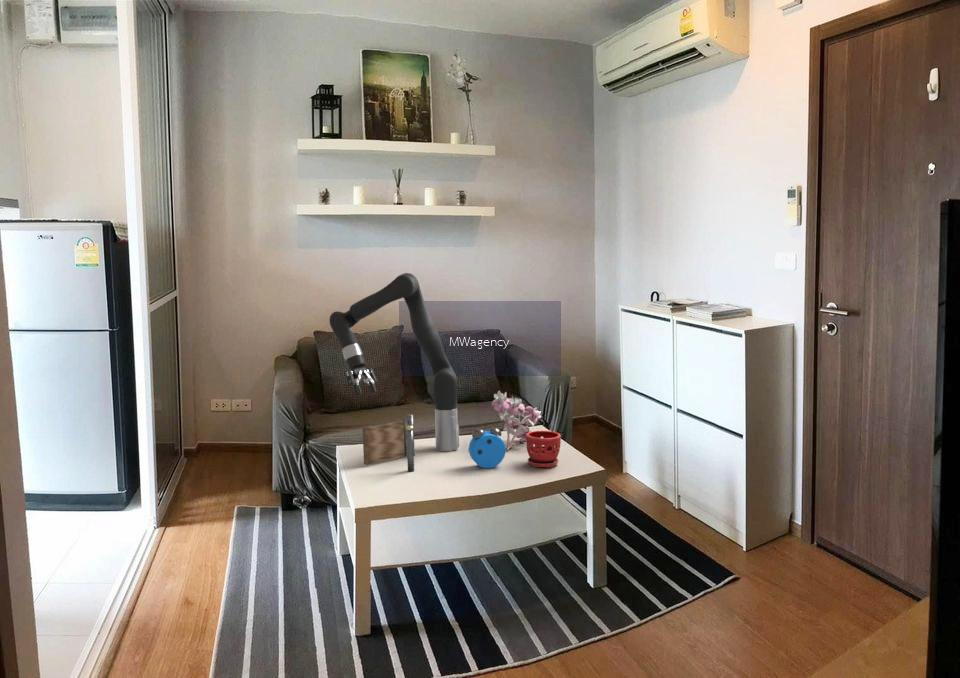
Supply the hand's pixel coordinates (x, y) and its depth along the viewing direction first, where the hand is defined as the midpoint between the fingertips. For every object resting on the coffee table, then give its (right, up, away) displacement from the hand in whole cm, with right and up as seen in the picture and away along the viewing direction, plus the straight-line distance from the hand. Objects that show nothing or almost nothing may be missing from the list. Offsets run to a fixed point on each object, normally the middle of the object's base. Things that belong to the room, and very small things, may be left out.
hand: (367, 394), depth 286 cm
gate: (+9, -25, -8) cm, 28 cm away
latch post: (+19, -27, -19) cm, 39 cm away
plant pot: (+70, -26, -14) cm, 76 cm away
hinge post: (+18, -25, -1) cm, 31 cm away
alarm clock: (+48, -27, -15) cm, 57 cm away
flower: (+61, -22, +15) cm, 67 cm away
